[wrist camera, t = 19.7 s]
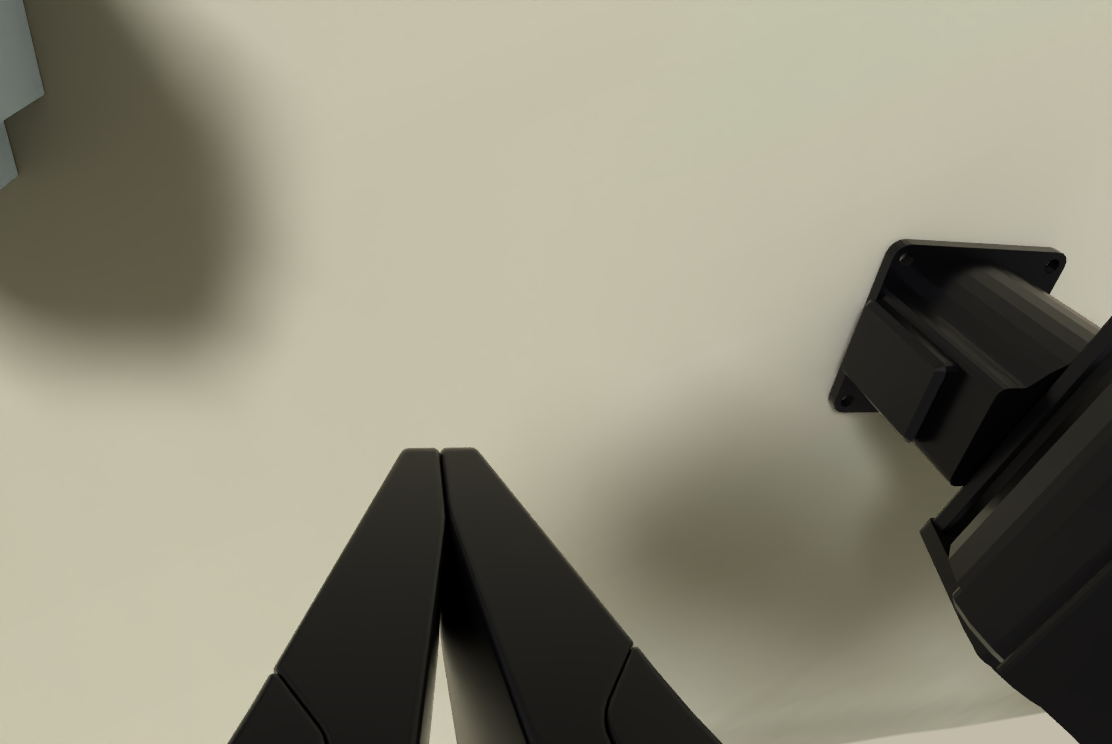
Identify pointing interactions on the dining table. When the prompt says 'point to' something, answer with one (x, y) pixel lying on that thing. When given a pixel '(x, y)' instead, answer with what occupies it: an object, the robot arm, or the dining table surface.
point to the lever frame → (15, 76)
